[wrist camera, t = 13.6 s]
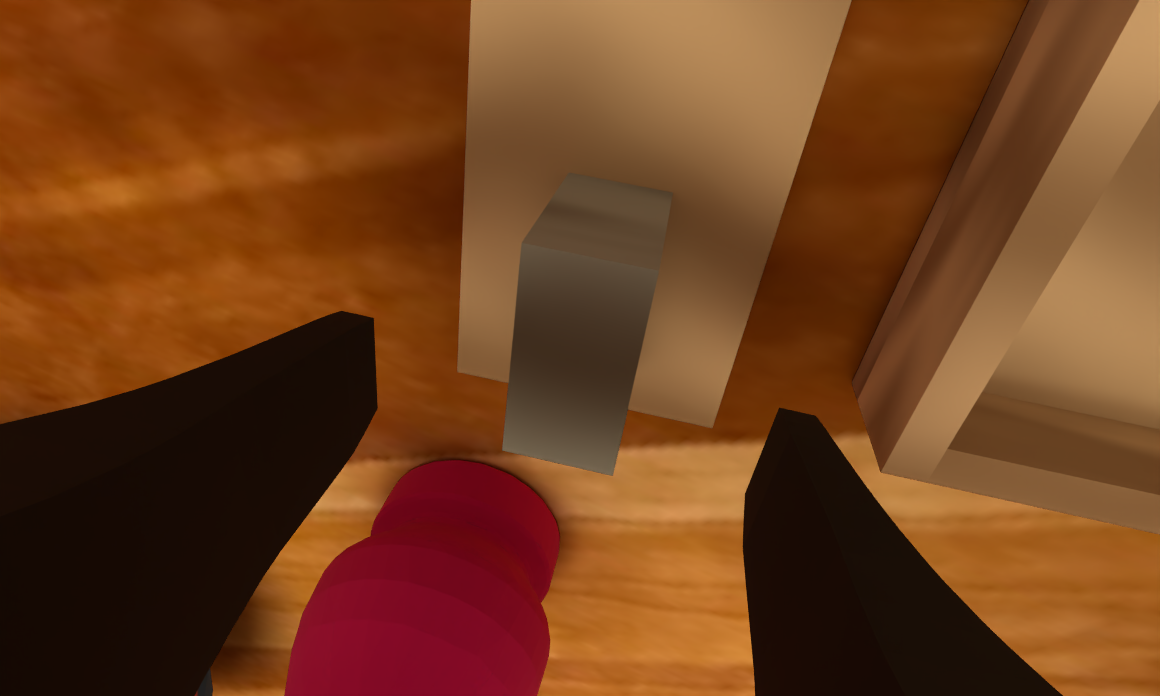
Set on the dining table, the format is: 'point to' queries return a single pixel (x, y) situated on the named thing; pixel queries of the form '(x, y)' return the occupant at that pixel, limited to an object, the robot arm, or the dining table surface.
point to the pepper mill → (435, 593)
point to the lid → (625, 202)
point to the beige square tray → (1038, 283)
